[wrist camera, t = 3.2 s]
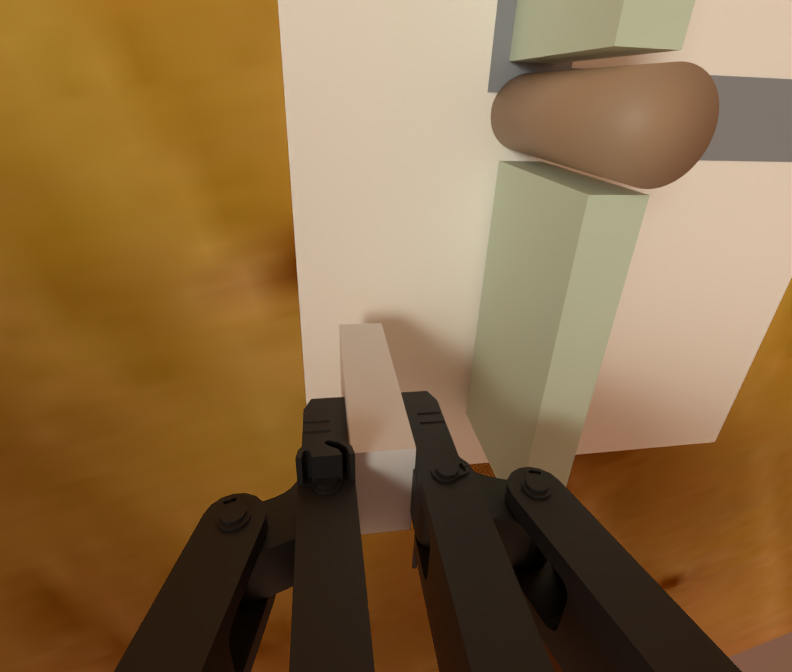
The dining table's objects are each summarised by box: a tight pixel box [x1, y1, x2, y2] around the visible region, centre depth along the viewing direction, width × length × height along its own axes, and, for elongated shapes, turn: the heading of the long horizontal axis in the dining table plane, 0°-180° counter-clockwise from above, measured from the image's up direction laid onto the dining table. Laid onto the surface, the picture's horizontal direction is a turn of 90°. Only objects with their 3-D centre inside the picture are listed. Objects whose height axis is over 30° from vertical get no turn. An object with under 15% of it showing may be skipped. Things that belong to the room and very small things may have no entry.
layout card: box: [278, 0, 792, 464], centre depth 16 cm, size 22×32×1 cm
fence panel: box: [466, 161, 650, 487], centre depth 16 cm, size 2×11×6 cm, turn 178°
